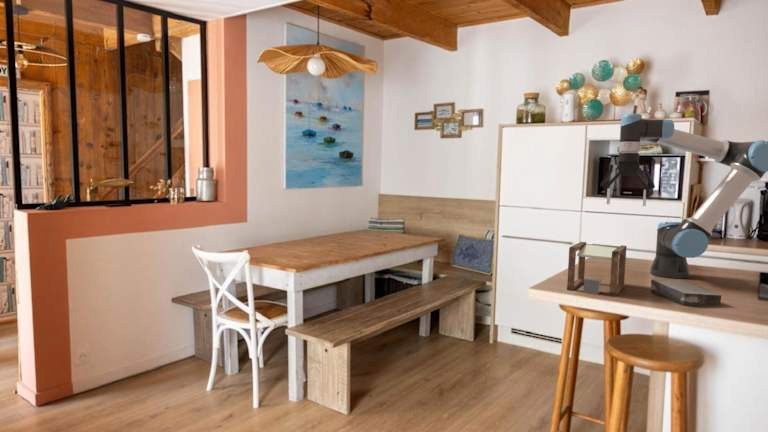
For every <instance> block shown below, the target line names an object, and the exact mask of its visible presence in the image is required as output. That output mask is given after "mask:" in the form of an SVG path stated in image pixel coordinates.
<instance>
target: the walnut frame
mask: <svg viewBox="0 0 768 432" xmlns="http://www.w3.org/2000/svg"><path fill="white" fill-rule="evenodd" d="M586 244H587V242H586V241H579V242H578V243H575V244H573V245H572V246H569V248H568V249H569V250H568V267H567V268H568V269H567V283H566V284H567V285H566V286H567V287H566V290H567V291H574V290H575V289H577V288H578V287H579V286H581V285H582V284H584V279H585V272H586V271H585V269H586V257H581V256H578V271H577V272H578V273H577V279H575V277H576V276H575V275H576V274H575V273H576V257H577V252H578V251H579V252H580V250H581V249H582V248H583V247H584V246H585V245H586ZM579 252H578V253H579ZM626 260H627V245H622V244H621V245H619V247H618V248H617V249H615V250H614V251H612V260H611V261H610V262H611V263H610V264H611V265H610V281H609V296H610V297H617V295H618V294H619V293H620V292H621V290H623V288H625V277H626V276H625V275H626V262H627V261H626Z"/></svg>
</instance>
